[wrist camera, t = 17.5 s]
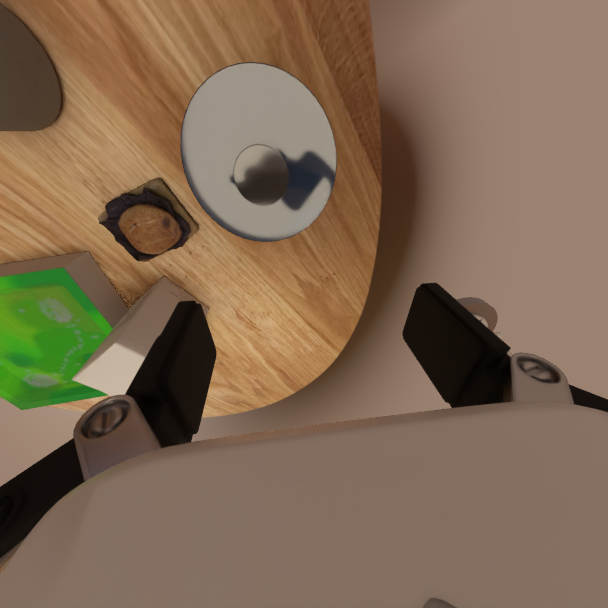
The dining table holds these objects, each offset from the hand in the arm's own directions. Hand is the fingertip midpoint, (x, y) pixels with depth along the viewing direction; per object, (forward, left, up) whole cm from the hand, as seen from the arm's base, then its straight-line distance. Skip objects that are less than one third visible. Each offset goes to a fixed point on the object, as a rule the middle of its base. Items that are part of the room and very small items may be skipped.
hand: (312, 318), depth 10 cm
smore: (+18, +3, -27) cm, 33 cm away
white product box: (+20, +17, -27) cm, 38 cm away
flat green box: (+39, +20, -27) cm, 51 cm away
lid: (+2, -4, -17) cm, 18 cm away
